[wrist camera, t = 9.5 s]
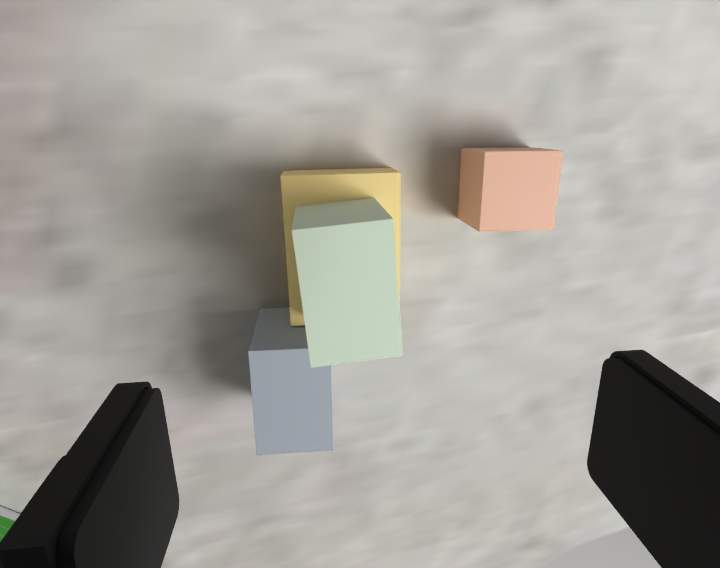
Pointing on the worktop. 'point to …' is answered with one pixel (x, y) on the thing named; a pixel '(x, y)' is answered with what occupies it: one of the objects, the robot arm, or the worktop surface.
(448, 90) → the worktop surface
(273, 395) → the slate block
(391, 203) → the ochre block
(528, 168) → the terracotta cube
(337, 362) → the sage block
